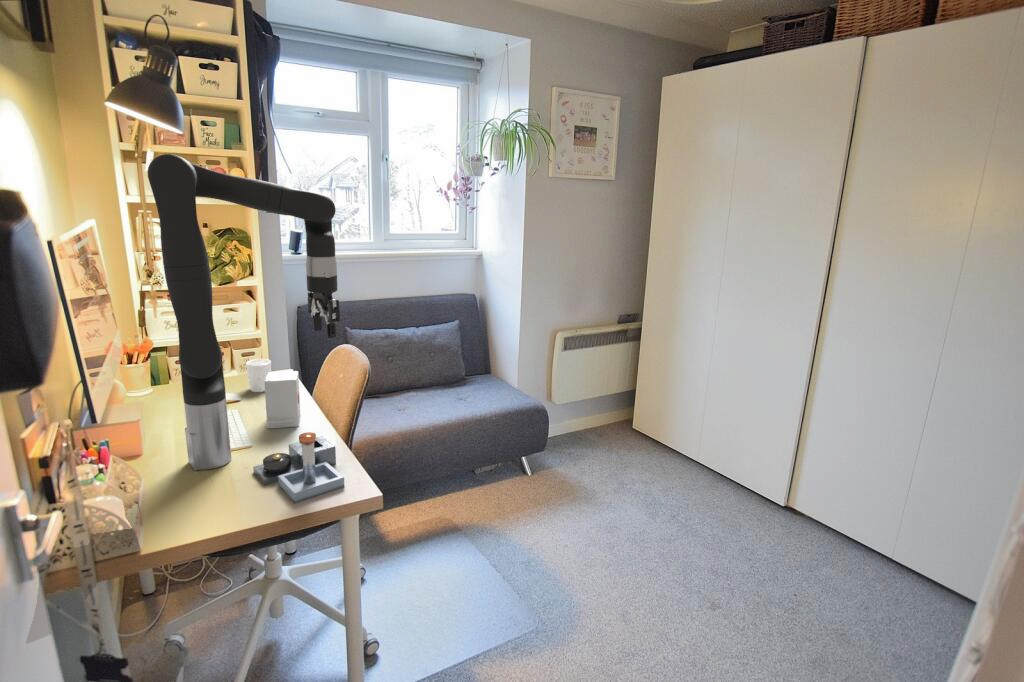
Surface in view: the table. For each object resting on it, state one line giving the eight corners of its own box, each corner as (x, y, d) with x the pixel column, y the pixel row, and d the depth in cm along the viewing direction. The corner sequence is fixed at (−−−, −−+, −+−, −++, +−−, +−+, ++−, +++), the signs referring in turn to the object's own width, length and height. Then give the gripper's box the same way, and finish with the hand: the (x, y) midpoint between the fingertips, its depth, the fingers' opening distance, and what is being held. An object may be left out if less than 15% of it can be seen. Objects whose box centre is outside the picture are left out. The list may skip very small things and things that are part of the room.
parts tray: (295, 503, 125) (294, 493, 125) (278, 485, 132) (278, 475, 132) (344, 486, 133) (344, 477, 132) (326, 470, 140) (326, 461, 140)
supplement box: (299, 427, 165) (296, 379, 161) (266, 429, 162) (263, 381, 158) (301, 415, 173) (298, 370, 169) (270, 417, 170) (267, 371, 167)
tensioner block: (265, 485, 132) (263, 466, 131) (253, 472, 138) (252, 454, 136) (336, 463, 144) (335, 446, 143) (322, 452, 150) (322, 435, 148)
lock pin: (305, 487, 131) (302, 440, 128) (298, 481, 134) (296, 434, 130) (320, 482, 133) (318, 436, 130) (314, 476, 136) (311, 431, 133)
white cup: (268, 383, 199) (266, 357, 196) (276, 390, 193) (274, 363, 191) (244, 388, 194) (242, 361, 191) (252, 394, 188) (250, 366, 186)
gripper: (296, 270, 145) (299, 330, 149) (319, 278, 135) (322, 341, 139) (323, 269, 150) (326, 326, 154) (348, 276, 140) (349, 337, 144)
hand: (324, 333), depth 146 cm, fingers open, 8 cm apart
